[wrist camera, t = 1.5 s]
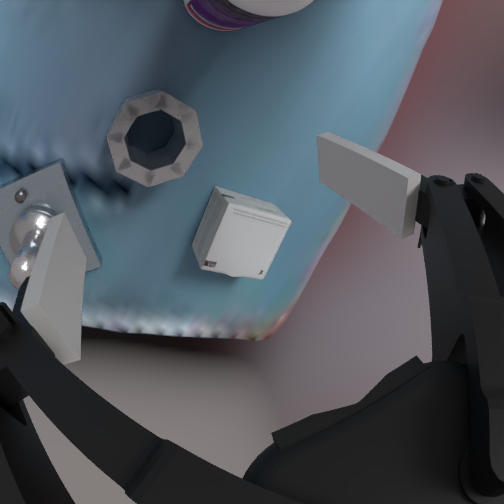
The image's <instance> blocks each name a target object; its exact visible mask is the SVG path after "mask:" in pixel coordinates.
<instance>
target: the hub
mask: <svg viewBox="0 0 504 504" xmlns="http://www.w3.org/2000/svg"><path fill="white" fill-rule="evenodd" d="M158 110H163V111H165V112H166V113H168V114H170V115H171V116H172V118H173V123H174V128H175V132H174V134H173V135H172V137H171V138H170V140H169V141H168V143H167V145H166V146H165V148H161V149H158V150H154V151H151V152H148V153H145V152H143V151H141V150H139V149H137V148H135V147H133V146H131V145H129V142H128V138H127V132H128V130H129V129H130V127H131V125H132V124H133V122H134V120H135V119H136V117H137V116H140V115H143V114H147V113H150V112H154V111H158ZM106 138H107V141H108V145H109V148H110V152H111V155H112V159H113V162H114V166H115V169H116V172H118V173H120V174H122V175H124V176H126V177H128V178H130V179H132V180H134V181H136V182H138V183H140V184H142V185H144V186H146V187H151V186H154V185H157V184H160V183H164V182H167V181H170V180H174V179H177V178H180V177H183V176H184V175H185V173H186V171H187V170H188V168H189V167H190V165H191V164H192V162H193V161H194V159H195V157H196V156H197V154H198V153H199V151H200V150H201V148H202V147H203V143H202V138H201V132H200V127H199V122H198V116H197V111H196V110H194V109H192V108H191V107H189V106H188V105H186V104H184V103H183V102H181V101H179V100H178V99H176V98H174V97H173V96H171V95H169V94H168V93H166V92H164V91H162V90H159V89H155V90H151V91H147V92H144V93H140V94H136V95H133V96H130V97H127V98H126V99H125V101H124V102H123V104H122V106H121V107H120V109H119V111H118V112H117V114H116V116H115V117H114V119H113V121H112V122H111V124H110V127H109V130H108V133H107V136H106Z"/></svg>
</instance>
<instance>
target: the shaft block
mask: <svg viewBox="0 0 504 504" xmlns="http://www.w3.org/2000/svg"><path fill="white" fill-rule="evenodd" d="M63 212H65V214H66V216H67V218H68V220H69V223H70V225H71V227H72V229H73V231H74V234H75V236H76V238H77V240H78V242H79V244H80V246H81V248H82V250H83V252H84V254H85V256H86V258H87V259H86V268H85V272H87V271H90V270H93V269H96V268H99V267H101V266H102V258H101V256H100V254H99V252H98V249H97V247H96V245H95V243H94V240H93V238H92V236H91V233H90V231H89V228H88V226H87V223H86V221H85V219H84V216H83V214H82V211H81V208H80V206H79V203H78V201H77V198H76V195H75V193H74V190H73V187H72V184H71V181H70V179H69V176H68V173H67V170H66V167H65V164H64V161H63V158H62V159H59V160H57V161H55V162H52V163H50V164H47V165H45V166H43V167H40V168H38V169H36V170H33V171H31V172H29V173H27V174H25V175H22V176H20V177H18V178H16V179H14V180H12V181H10V182H8V183H6V184H4V185H2V186H0V247H1V249H2V250H3V252H4V254H5V256H6V258H7V260H8V262H9V263H10V265H11V268H10V271H9V280H10V282H11V283H12V285H13V286H14V287H16V288H17V289H19V288H20V286H21V284H22V283H23V281H24V280H25V279H26V277H29V276H31V272H32V269H33V266H34V263H35V260H36V257H37V254H38V252H39V249H40V246H41V243H42V240H43V238H44V235H45V232H46V230H47V227H48V225H49V222H50V220H51V218H52V217H54V216H56V215H59V214H61V213H63Z"/></svg>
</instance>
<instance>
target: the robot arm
mask: <svg viewBox="0 0 504 504" xmlns="http://www.w3.org/2000/svg"><path fill="white" fill-rule="evenodd" d="M317 146H318V161H319V178H320V182H321V183H323V184H324V185H326V186H327V187H329V188H330V189H332V190H333V191H335V192H336V193H338V194H339V195H341V196H342V197H344V198H345V199H346V200H348V201H349V202H351V203H352V204H354V205H355V206H357V207H358V208H359V209H361V210H362V211H364V212H365V213H367V214H368V215H369V216H371V217H372V218H374V219H375V220H376V221H378V222H379V223H381V224H382V225H383V226H384V227H386V228H387V229H388V230H390V231H391V232H392V233H394V234H395V235H397V236H398V237H399V238H401V239H402V238H405V237H407V236H410V235H412V234H414V228H415V221H417V222H418V223H420V224H421V225H422V226H421V232H420V238H419V243H418V248H420V246H421V245H422V247H423V253H424V261H425V267H426V276H427V284H428V294H429V305H430V317H431V333H432V362H429V363H424V364H423V363H422V361H421V360H420V359H419V358H418V357H417V356H415V357H414V358H412V359H410V360H409V361H408V362H406V363H404V364H403V365H401V366H400V367H398V368H396V369H395V370H393V371H392V372H390V373H388V374H387V375H386V376H385V377H384V378H383V379H382V380H381V381H380V382H379V383H378V384H377V385H376V386H375V387H374V388H373V389H372V390H371V391H370V392H369V393H368V394H367V395H366V396H365V397H364V398H363V399H362V400H361V401H360V402H358V403H356V404H354V405H350V406H346V407H343V408H338V409H335V410H330V411H326V412H322V413H318V414H313V415H311V416H308V417H306V418H304V419H302V420H300V421H298V422H295V423H293V424H291V425H289V426H287V427H284V428H282V429H280V430H277V431H275V432H272V433H271V434H272V437H273V440H274V443H273V444H271V445H270V446H269V447H267V448H266V449H265V450H264V451H263V452H262V453H261V454H259V455H258V456H257V458H256V459H255V460H254V461H253V463H252V464H251V465H250V466H249V468H248V470H247V471H246V473H245V475H244V477H243V479H242V478H239V477H237V476H235V475H233V474H231V473H229V472H227V471H225V470H223V469H220V468H219V467H217V466H215V465H213V464H211V463H209V462H207V461H205V460H203V459H201V458H200V457H198V456H196V455H194V454H192V453H191V452H189V451H187V450H185V449H184V448H182V447H180V446H178V445H177V444H175V443H173V442H171V441H169V440H166V439H165V440H164V439H161V438H159V437H158V436H156V435H155V434H153V433H152V432H150V431H149V430H147V429H146V428H144V427H142V426H141V425H140V424H138V423H137V422H135V421H134V420H132V419H131V418H129V417H128V416H126V415H125V414H124V413H122V412H121V411H120V410H118V409H117V408H116V407H114V406H113V405H112V404H110V403H109V402H107V401H106V400H105V399H104V398H102V397H101V396H99V395H98V394H97V393H96V392H95V391H93V390H92V389H91V388H89V387H88V386H87V385H86V384H85V383H84V382H82V381H81V380H80V379H79V378H78V377H76V376H75V375H74V374H73V373H72V372H71V371H70V370H68V369H67V368H66V367H65V366H64V365H66V364H69V363H72V362H75V361H78V360H81V320H82V303H83V289H84V278H85V268H86V259H87V258H86V256H85V254H84V252H83V250H82V248H81V246H80V244H79V242H78V240H77V238H76V236H75V234H74V231H73V229H72V227H71V225H70V223H69V220H68V218H67V216H66V214H65V212H63V213H61V214H59V215H56V216H54V217H52V218H51V220H50V222H49V225H48V227H47V230H46V232H45V235H44V238H43V240H42V243H41V246H40V249H39V252H38V254H37V257H36V260H35V263H34V266H33V269H32V272H31V276H29V277H26V279H25V280H24V281H23V283H22V284H21V286H20V288H19V292H18V295H17V296H18V297H17V298H16V301H15V303H16V304H15V305H14V308H13V312H12V311H11V310H10V309H9V307H8V306H7V304H6V303H4V302H0V504H75V502H74V501H73V499H72V498H71V496H70V494H69V493H68V491H67V490H66V488H65V486H64V484H63V483H62V481H61V479H60V477H59V476H58V474H57V472H56V470H55V468H54V466H53V465H52V463H51V461H50V459H49V457H48V455H47V453H46V451H45V449H44V447H43V445H42V443H41V441H40V439H39V436H38V434H37V433H36V430H35V428H34V425H33V423H32V421H31V418H30V416H29V413H28V411H27V409H26V406H25V404H24V401H23V399H24V398H25V397H27V396H28V395H29V396H30V397H31V398H32V399H33V401H34V402H35V403H36V404H37V405H38V407H39V408H40V409H41V410H42V411H43V412H44V413H45V415H46V416H47V417H48V418H49V419H50V420H51V421H52V422H53V424H54V425H55V426H56V427H57V428H58V429H59V430H60V431H61V432H62V433H63V434H64V435H65V436H66V437H67V438H68V439H69V440H70V441H71V442H72V443H73V444H74V445H75V446H76V447H77V448H78V449H79V450H80V451H81V452H82V453H83V454H84V455H85V456H86V457H87V458H88V459H89V460H91V461H92V462H93V463H94V464H95V465H96V466H97V467H98V468H99V469H101V470H102V471H103V472H104V473H105V474H106V475H108V476H109V477H110V478H111V479H112V480H114V481H115V482H116V483H117V484H118V485H120V486H121V487H122V488H123V489H124V490H125V494H127V496H128V497H129V498H130V499H132V500H133V501H134V502H135V503H137V504H504V194H503V193H502V192H501V191H500V190H499V189H498V188H497V187H496V186H495V185H494V184H493V183H492V182H491V181H490V180H489V179H487V178H486V177H484V176H482V175H481V174H477V173H475V174H473V173H469V174H466V175H465V181H464V184H461V185H457V184H456V183H455V182H454V181H453V180H452V179H450V178H447V177H445V176H439V175H434V176H430V177H429V178H426V177H424V176H423V175H421V174H419V173H417V172H415V171H413V170H411V169H409V168H407V167H405V166H403V165H401V164H399V163H397V162H395V161H393V160H391V159H389V158H387V157H385V156H382V155H380V154H378V153H376V152H374V151H372V150H369V149H367V148H365V147H363V146H360V145H358V144H356V143H353V142H351V141H349V140H346V139H344V138H341V137H339V136H337V135H334V134H332V133H329V132H328V133H323V134H318V135H317ZM484 214H485V217H486V218H485V224H483V218H484ZM55 356H56V357H57V358H58V359H59V361H60V362H61V363H60V362H59V361H58V360H57V359H56V358H55Z"/></svg>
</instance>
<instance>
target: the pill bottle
mask: <svg viewBox="0 0 504 504" xmlns="http://www.w3.org/2000/svg"><path fill="white" fill-rule="evenodd" d="M312 1H313V0H184V4H185V7H186V9H187V11H188V12H189V14H190V15H191V16H192V17H193V18H194V19H195V20H196V21H197V22H199V23H200V24H202V25H204V26H206V27H208V28H211V29H214V30H219V31H233V30H238V29H242V28H245V27H248V26H251V25H254V24H257V23H260V22H263V21H267V20H270V19H273V18H277V17H281V16H284V15H288V14H291V13H294V12H297V11H299V10H301V9H303V8H305V7H306V6H308V5H309V4H310V3H311V2H312Z"/></svg>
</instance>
